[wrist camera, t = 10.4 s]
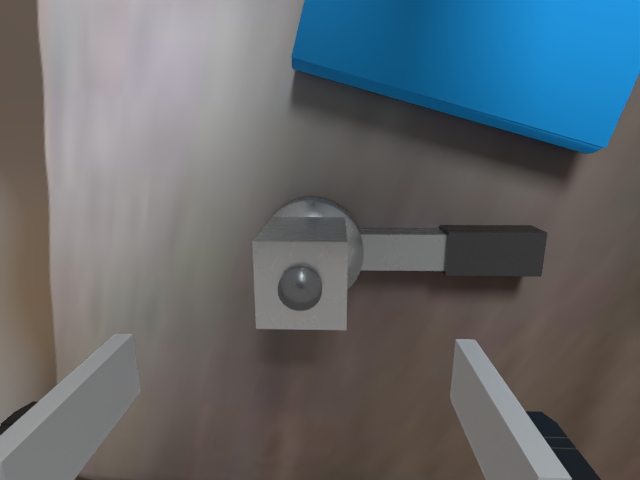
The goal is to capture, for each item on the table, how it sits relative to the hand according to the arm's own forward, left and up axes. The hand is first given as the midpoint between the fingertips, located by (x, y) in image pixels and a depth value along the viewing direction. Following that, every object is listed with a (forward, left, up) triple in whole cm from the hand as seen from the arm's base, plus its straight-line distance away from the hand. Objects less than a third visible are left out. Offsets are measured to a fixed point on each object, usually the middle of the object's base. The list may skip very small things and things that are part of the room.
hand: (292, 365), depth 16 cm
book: (-19, +12, -21) cm, 31 cm away
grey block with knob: (0, -1, -18) cm, 18 cm away
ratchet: (0, +7, -21) cm, 22 cm away
